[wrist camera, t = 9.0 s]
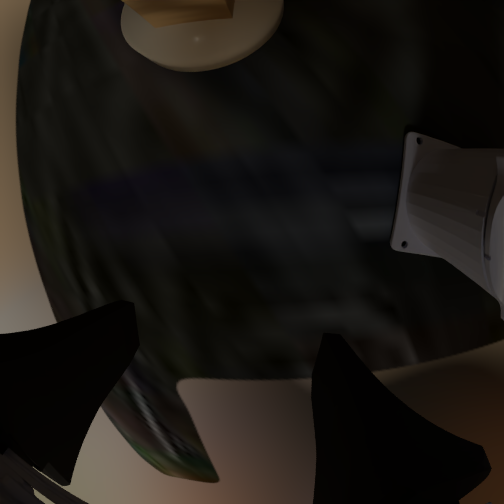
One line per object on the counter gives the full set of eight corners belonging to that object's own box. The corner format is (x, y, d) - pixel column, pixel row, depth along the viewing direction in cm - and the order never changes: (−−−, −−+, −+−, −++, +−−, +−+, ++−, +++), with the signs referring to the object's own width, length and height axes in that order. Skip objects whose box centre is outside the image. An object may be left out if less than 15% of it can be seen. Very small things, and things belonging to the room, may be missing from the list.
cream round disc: (287, -34, 12) (286, -56, 9) (279, 74, 15) (277, 58, 12) (155, -22, 13) (140, -39, 10) (129, 80, 16) (107, 71, 13)
